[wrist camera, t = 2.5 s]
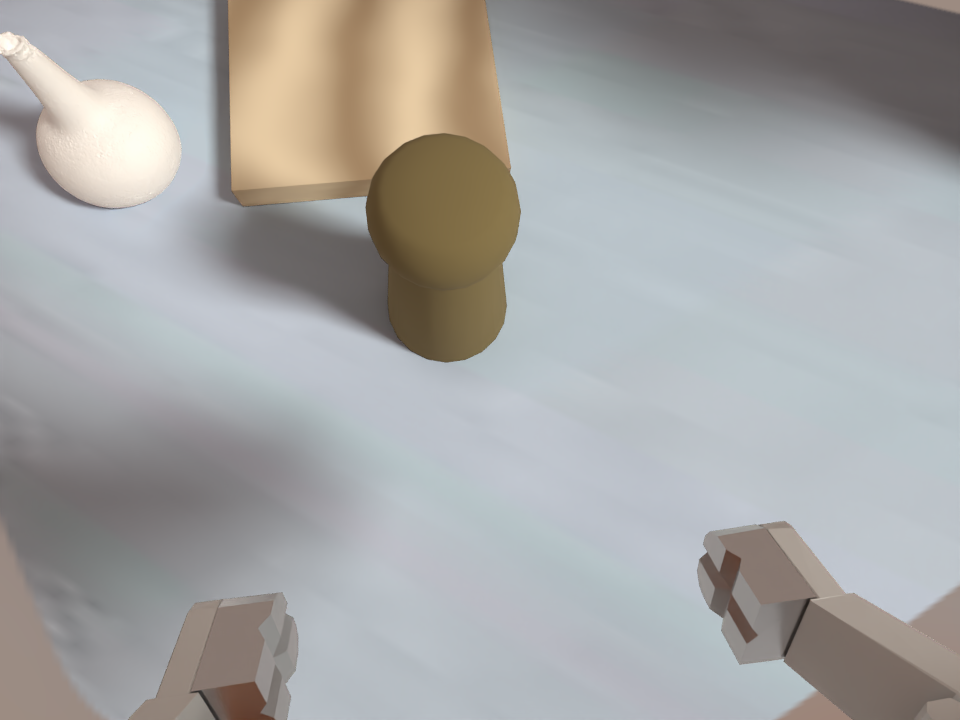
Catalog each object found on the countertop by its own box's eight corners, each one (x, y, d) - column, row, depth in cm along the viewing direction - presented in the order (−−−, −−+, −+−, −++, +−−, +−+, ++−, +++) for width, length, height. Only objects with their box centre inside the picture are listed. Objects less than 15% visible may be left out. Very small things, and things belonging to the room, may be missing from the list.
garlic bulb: (216, 162, 29) (144, 33, 22) (124, 240, 27) (9, 127, 20) (133, 99, 30) (35, -48, 22) (37, 170, 28) (-106, 35, 20)
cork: (373, 267, 27) (322, 126, 17) (485, 236, 28) (505, 82, 17) (406, 377, 26) (372, 300, 16) (522, 342, 27) (567, 246, 16)
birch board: (478, -11, 32) (479, -35, 30) (508, 183, 29) (510, 167, 27) (238, 3, 31) (227, -21, 29) (243, 206, 28) (231, 190, 26)
